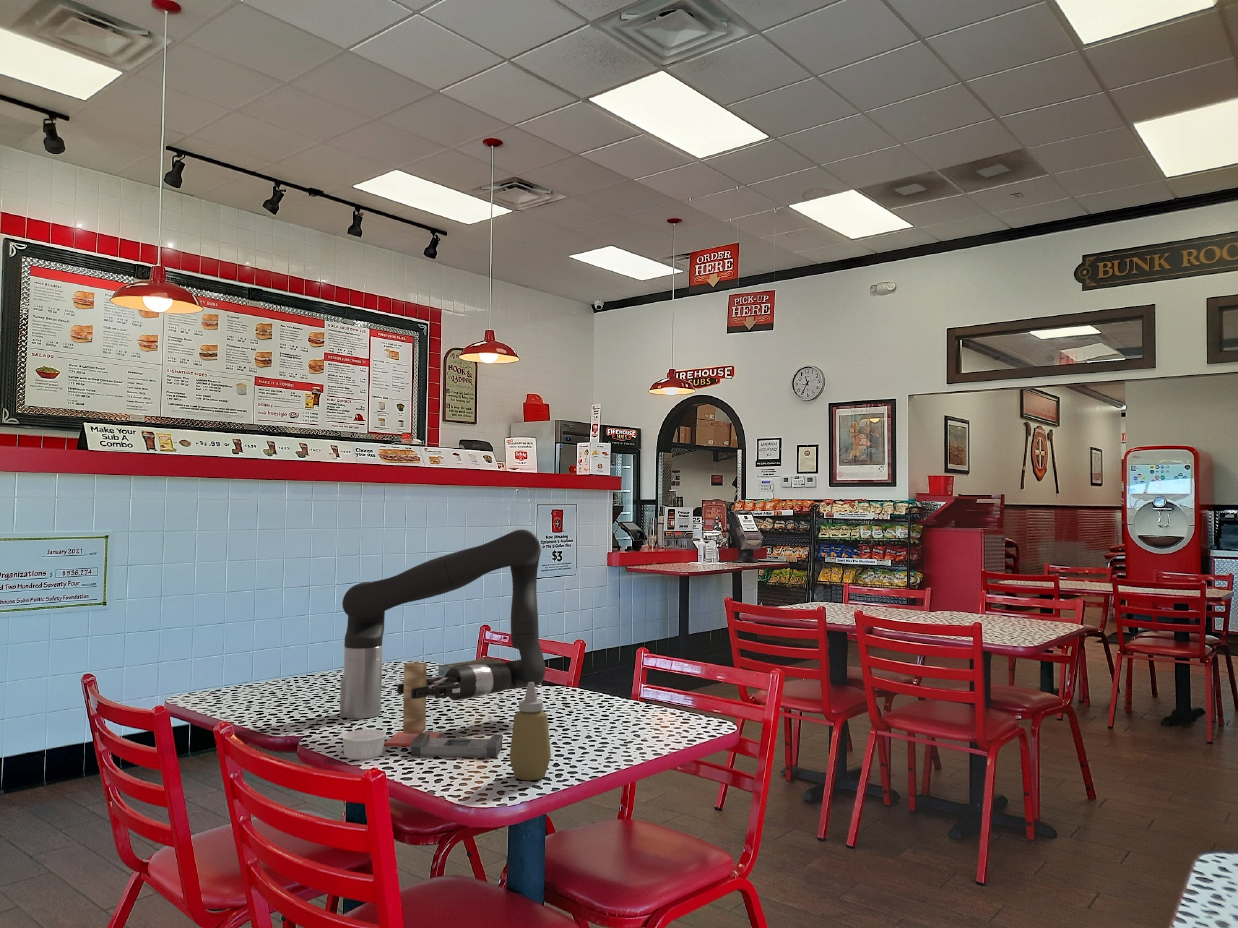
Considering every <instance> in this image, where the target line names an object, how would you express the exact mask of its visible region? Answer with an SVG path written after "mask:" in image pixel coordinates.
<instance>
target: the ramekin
mask: <svg viewBox="0 0 1238 928" xmlns="http://www.w3.org/2000/svg"><path fill="white" fill-rule="evenodd" d="M386 735H387V733H386V732H385V730H381V729H374V728H373V729H372V728H368V729H367V728H364V729H356V730H352V731H348V732H345V733H343V734H342V736H341V738H342V745H343V755H344V757H345V758H346V759H347V760H348V759H349V760H354V761H355V760H356V761H359V760H371V759H375V758H379V757H380V756H382V755H383V754H384V748H385V742H386V741H385V739H386Z"/></svg>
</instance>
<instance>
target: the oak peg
mask: <svg viewBox="0 0 1238 928" xmlns="http://www.w3.org/2000/svg"><path fill="white" fill-rule="evenodd" d="M427 668H428V667H427V662H408V663H406V664H404V665H403V683H404V694H403V710H402V711H403V713H402V716H403V717H402V721H403V722H402V726H403V727H402V732H403V734H420V733H422V732H426V730H427V729H426V727H427V726H426V725H427V724H426V723H427V722H426V721H427V697H423V698H417V699H413V698H411V690H412V689H413V688H419V687H425V686H426V677H427Z"/></svg>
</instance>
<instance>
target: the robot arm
mask: <svg viewBox="0 0 1238 928" xmlns="http://www.w3.org/2000/svg"><path fill="white" fill-rule="evenodd" d="M541 552H542V549H541V544H540V541H539V539H538V536H536V534H535V533H534V532H532V531H531V530H530V531H529V530H528V529H517V530H513V531H511V532H508V533H507V534H504V535H502V536H500V537H498V538H496V539H493V540H491V541H489V542H485V543H484V544H481V545H477V546H474V547H473V546H472V547H470V548H466V549H462V550H459V551H456V552H452V553H448V554H445V555H442V556H438V557H435V558H432V559H430V560H427V561H425V562H423V563H420V564H417V565H415V566H413V567H410V568H409V569H407V570H404V571H403V572H400V573H398V574H396V575H393V576H391V577H387V578H384V579H380V580H379V579H378V580H376V581H363V582H359V583H357V584H355V585H353V586H351V587H349V589H347V591H346V592H345V594H344V596H343V599H342V609H343V612H344V613H345V615H347V627H346V633H345V635H344V646H343V647H344V648H343V649H344V650H343V651H344V653H343V654H344V655H343V676H342V677H341V678H340V691H339V692H340V693H339V697H340V698H339V717H340V718H341V717H342V718H347V719H368V718H369V719H370V718H373V717H377V716H380V715H381V714H382V677H383V676H382V674H383V673H382V672H383V669H382V668H383V638H384V632H385V613H386V611H388V610H390V609H392V608H395V607H397V606H401V605H403V604H407V603H410V602H417V601H421V600H425V599H429V598H433V597H436V596H441V595H443V594H448V593H450V592H452V591H455V590H459V589H461V588H463V587H465V586H467V585H469V584H471V583H472V582H474V581H477V580H478V579H479V578H481V577H483V576H484V575H486V574H488V573H491V572H493V571H496V570H501V569H504V568H507V567H509V569H510V573H511V579H512V597H511V607H510V609H511V610H510V643H511V646H512V648H513V649H516V650H518V651H519V655H520V656H519V657H520V659H516V660H515V659H514V660H510V661H504V662H503V663H491V664H484V665H469V666H462V667H455V668H451V669H449V670H448V671H447V673H446V675H445V677H444V678H442V676H438V675H436V676H434V677H433V676H431V675H426V686H425V687H419V688H413V689H412V690H411V698H413V699H417V698H423V697H426V698H427V697H428V698H430V699H432V698H434V699H436V700H437V699H443V698H449V699H450V700H452V701H460V700H468V699H473V698H478V697H482V696H485V695H490V694H495V693H496V694H497V693H501V692H504V691H508V690H517V689H527V686H528V682H534V684H535V687H538V686H540V685H541V684H542V683H543V681H544V679H545V676H546V663H545V662H546V661H545V659H544V654H543V651H542V647H541V644H540V638H539V635H540V634H539V631H540V630H539V612H538V610H539V609H538V598H537V594H538V593H537V584H538V583H537V582H538V581H537V580H538V579H537V578H538V570H539V569H538V568H539V564H540V563H539V562H540V557H541ZM396 693H397V694H398V695H404V682H403V683H398V684H397V686H396Z"/></svg>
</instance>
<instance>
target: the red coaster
mask: <svg viewBox="0 0 1238 928" xmlns="http://www.w3.org/2000/svg"><path fill="white" fill-rule="evenodd" d="M442 732H443V731H423V732H422V733H430V738H440V737H441V736H442ZM418 735H419V734H403V731H398V732H396V733H395V734H394V735H393V736H392V737H391V738H389V739H388V740H387V741H385V742H384V747H411V741H413V740H414V739H415V738H416V737H417V736H418ZM439 736H440V737H439Z"/></svg>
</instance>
